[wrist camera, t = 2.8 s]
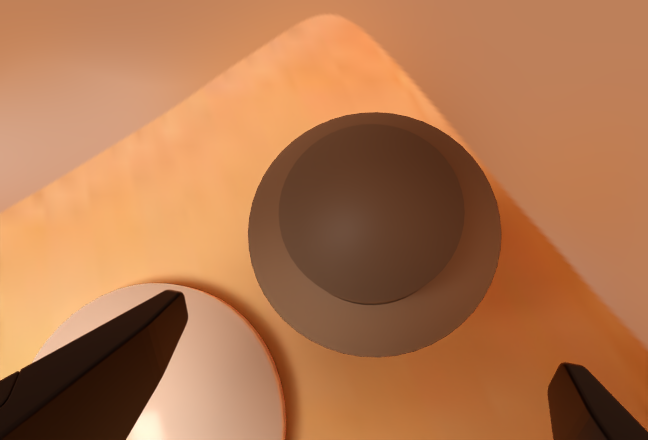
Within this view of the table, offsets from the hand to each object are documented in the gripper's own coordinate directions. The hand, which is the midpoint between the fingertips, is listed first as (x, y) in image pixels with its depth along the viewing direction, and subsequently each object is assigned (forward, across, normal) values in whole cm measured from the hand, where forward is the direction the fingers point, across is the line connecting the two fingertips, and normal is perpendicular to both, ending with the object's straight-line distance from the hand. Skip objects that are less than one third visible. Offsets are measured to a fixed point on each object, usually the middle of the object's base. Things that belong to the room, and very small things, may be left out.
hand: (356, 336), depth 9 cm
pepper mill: (+8, 0, +5) cm, 10 cm away
